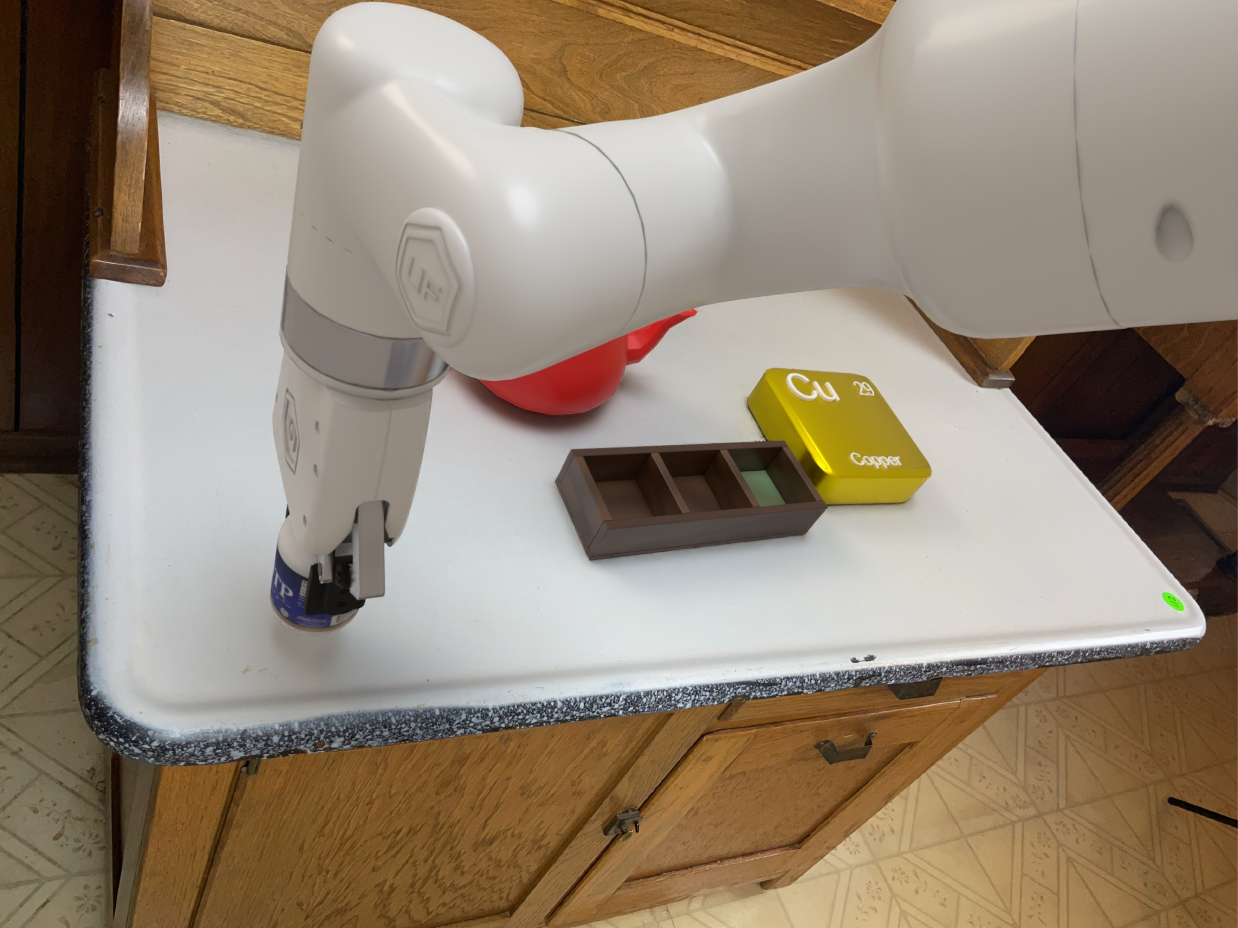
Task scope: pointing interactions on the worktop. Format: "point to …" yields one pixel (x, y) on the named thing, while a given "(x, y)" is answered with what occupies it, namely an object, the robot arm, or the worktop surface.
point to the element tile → (840, 435)
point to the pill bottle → (300, 586)
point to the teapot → (584, 373)
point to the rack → (685, 496)
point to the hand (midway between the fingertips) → (323, 562)
